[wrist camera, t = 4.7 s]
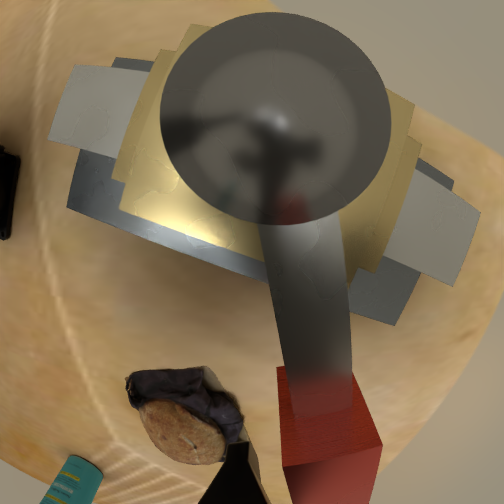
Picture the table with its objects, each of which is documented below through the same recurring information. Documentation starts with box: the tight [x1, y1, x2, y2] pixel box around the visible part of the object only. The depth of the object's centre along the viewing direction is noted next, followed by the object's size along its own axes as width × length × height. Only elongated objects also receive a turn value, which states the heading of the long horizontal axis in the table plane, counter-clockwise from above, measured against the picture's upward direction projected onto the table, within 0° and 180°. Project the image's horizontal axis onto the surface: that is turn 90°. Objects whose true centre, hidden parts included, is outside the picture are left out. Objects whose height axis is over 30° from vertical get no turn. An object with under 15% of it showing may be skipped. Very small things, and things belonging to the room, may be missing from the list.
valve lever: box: [160, 12, 392, 504], centre depth 5 cm, size 12×3×3 cm, turn 11°
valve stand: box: [47, 24, 481, 326], centre depth 10 cm, size 9×20×9 cm, turn 70°
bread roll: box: [125, 366, 252, 465], centre depth 17 cm, size 11×8×4 cm
